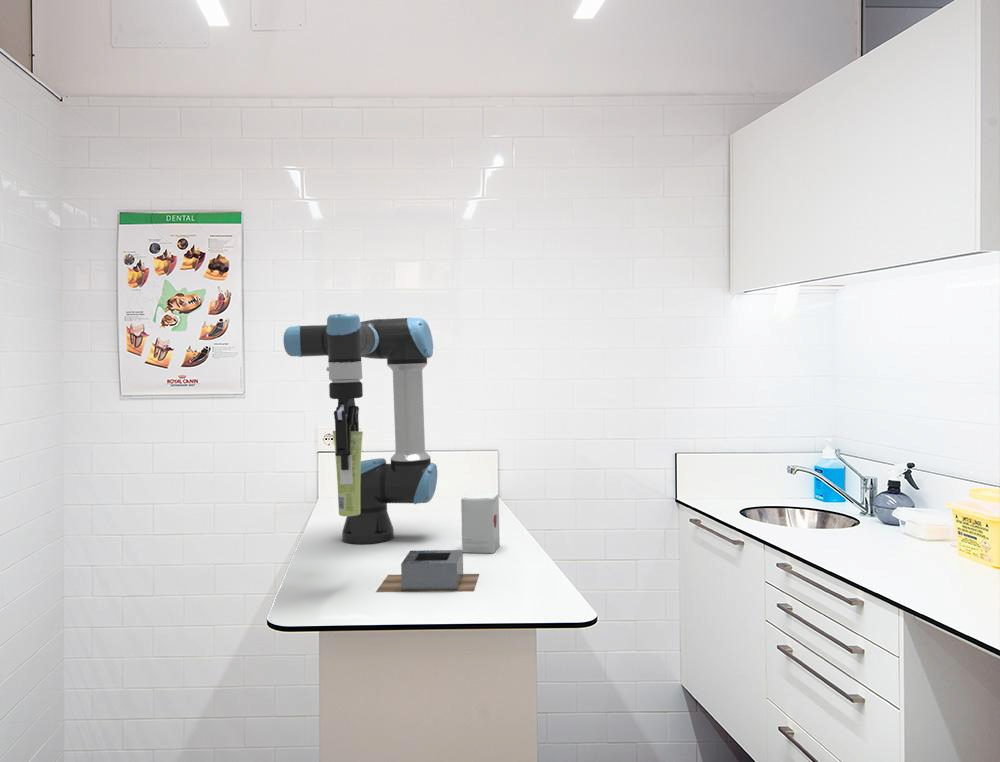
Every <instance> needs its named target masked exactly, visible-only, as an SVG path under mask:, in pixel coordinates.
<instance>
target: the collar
mask: <svg viewBox="0 0 1000 762" xmlns="http://www.w3.org/2000/svg"><path fill="white" fill-rule="evenodd" d="M400 571H401V574H400V575H401V577H402V590H458V588H459V585H460V583H461V580H462V577H463V574H464V552H463V550H462V549H444V550H443V549H441V550H440V549H437V550H435V549H433V550H429V549H428V550H409V552H408V553H407V555H406V556H405V558H404V559H403V561H402V562H401V564H400Z"/></svg>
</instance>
